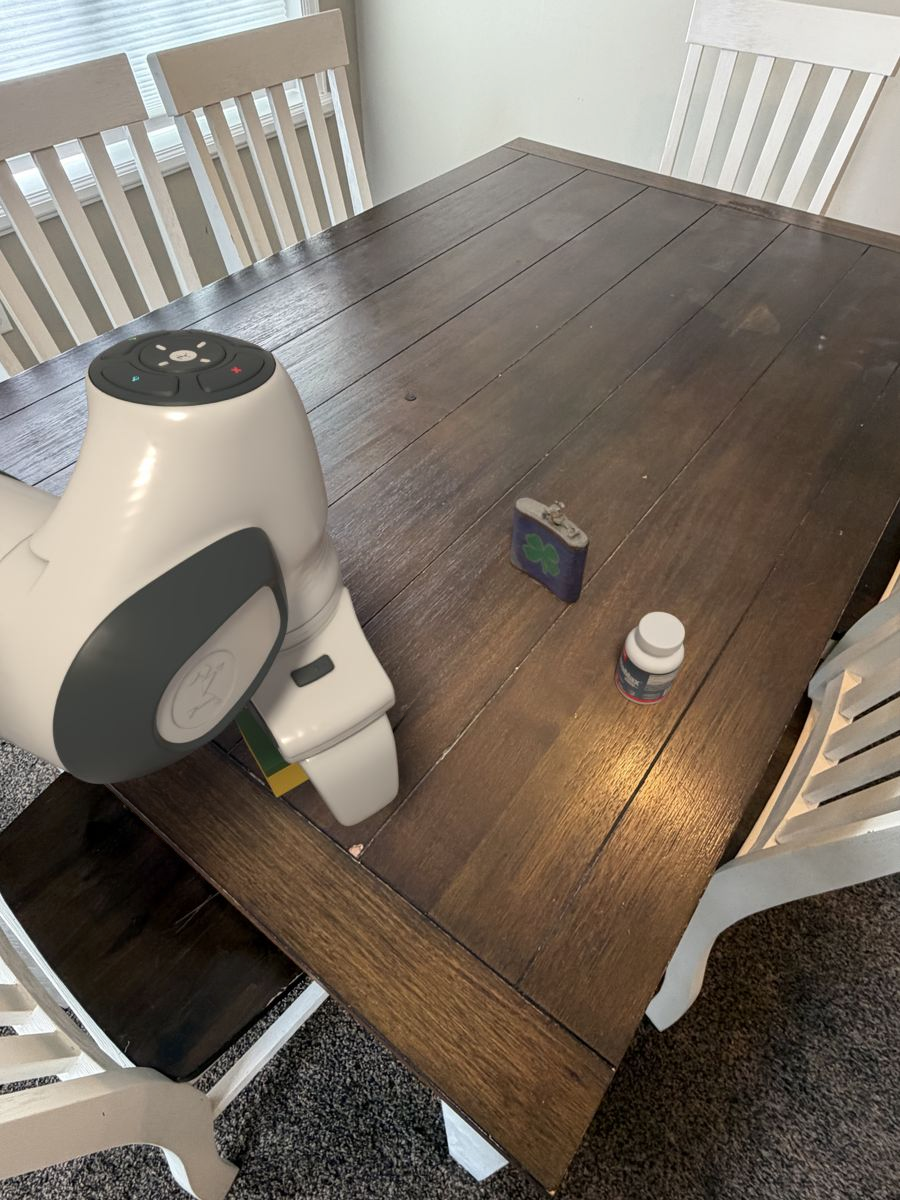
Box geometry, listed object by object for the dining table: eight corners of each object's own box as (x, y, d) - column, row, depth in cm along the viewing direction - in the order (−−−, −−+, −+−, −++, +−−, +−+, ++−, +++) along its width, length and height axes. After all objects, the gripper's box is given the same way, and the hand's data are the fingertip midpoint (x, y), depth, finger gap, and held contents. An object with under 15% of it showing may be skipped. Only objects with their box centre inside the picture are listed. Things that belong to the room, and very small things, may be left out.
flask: (504, 562, 80) (510, 490, 72) (522, 548, 82) (530, 476, 73) (569, 609, 76) (583, 539, 68) (587, 594, 77) (603, 523, 69)
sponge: (276, 798, 50) (264, 771, 47) (246, 743, 52) (232, 715, 49) (377, 738, 52) (372, 709, 49) (344, 689, 55) (337, 659, 52)
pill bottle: (606, 666, 72) (621, 611, 65) (655, 655, 73) (676, 599, 66) (627, 711, 69) (645, 659, 62) (678, 700, 69) (702, 646, 62)
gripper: (146, 523, 45) (207, 652, 55) (299, 779, 34) (337, 877, 45) (241, 483, 47) (282, 614, 58) (413, 711, 36) (423, 821, 47)
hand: (307, 731), depth 51 cm, fingers closed on sponge, 5 cm apart
